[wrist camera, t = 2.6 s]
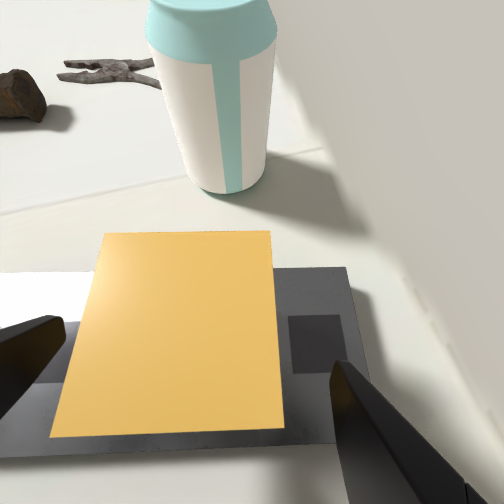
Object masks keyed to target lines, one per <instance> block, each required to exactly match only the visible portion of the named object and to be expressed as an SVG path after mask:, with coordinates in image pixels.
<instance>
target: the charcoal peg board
mask: <svg viewBox="0 0 504 504" xmlns="http://www.w3.org/2000/svg"><path fill="white" fill-rule="evenodd" d="M93 274H94V272H69V273H19V274H0V329H2V328H5V327H9V326H12V325H15V324H18V323H22V322H25V321H28V320H31V319H34V318H38V317H41V316H44V315H57V316H61V317H62V318H63V320H64V325H65V331H66V341H65V343H64V344H63V346H62V347H61V348H60V350H59V351H58V352H57V354H56V355H55V356H54V357H53V359H52V360H51V361H50V362H49V364H48V365H47V366H46V368H45V369H44V370H43V371H42V373H41V374H40V375H39V377H38V378H37V379H36V380H35V382H34V383H33V384H32V385H31V387H30V388H29V389H28V390H27V391H26V392H25V393H24V395H23V396H22V397H21V398H20V399H19V400H18V401H17V402H16V403H15V405H14V406H13V407H12V408H11V409H10V410H9V411H8V412H7V413H6V414H5V415H4V417H3V418H2V419H1V420H0V458H6V457H29V456H52V455H75V454H98V453H121V452H144V451H167V450H190V449H213V448H236V447H259V446H282V445H305V444H328V443H336V438H335V431H334V422H333V414H332V406H331V397H330V389H329V380H330V376H331V373H332V369H333V366H334V363H335V361H336V360H345V361H349V362H351V363H352V364H353V365H354V366H355V367H356V368H357V369H358V370H359V371H360V372H361V373H362V375H363V376H364V377H365V378H366V379H367V380H368V381H369V382H370V378H369V374H368V369H367V364H366V360H365V355H364V350H363V346H362V341H361V336H360V331H359V327H358V322H357V317H356V313H355V308H354V303H353V299H352V294H351V289H350V285H349V280H348V275H347V271H346V267H315V268H273V278H274V292H275V305H276V319H277V333H278V347H279V361H280V375H281V388H282V402H283V416H284V428H271V429H247V430H223V431H199V432H174V433H150V434H126V435H102V436H77V437H53V438H49V437H50V433H51V430H52V426H53V422H54V418H55V415H56V411H57V407H58V404H59V400H60V396H61V393H62V389H63V385H64V382H65V378H66V374H67V370H68V367H69V363H70V359H71V356H72V352H73V348H74V345H75V341H76V337H77V334H78V330H79V326H80V322H81V319H82V315H83V311H84V308H85V304H86V300H87V297H88V293H89V289H90V285H91V282H92V278H93Z"/></svg>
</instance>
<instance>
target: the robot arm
mask: <svg viewBox="0 0 504 504" xmlns="http://www.w3.org/2000/svg"><path fill="white" fill-rule="evenodd" d="M65 341H66V331H65V325H64V320H63V318H62V317H61V316H57V315H44V316H41V317H38V318H34V319H31V320H28V321H25V322H22V323H18V324H15V325H12V326H9V327H5V328H2V329H0V420H1V419H2V418H3V417H4V415H5V414H6V413H7V412H8V411H9V410H10V409H11V408H12V407H13V406H14V405H15V403H16V402H17V401H18V400H19V399H20V398H21V397H22V396H23V395H24V393H25V392H26V391H27V390H28V389H29V388H30V387H31V385H32V384H33V383H34V382H35V380H36V379H37V378H38V377H39V375H40V374H41V373H42V371H43V370H44V369H45V368H46V366H47V365H48V364H49V362H50V361H51V360H52V359H53V357H54V356H55V355H56V354H57V352H58V351H59V350H60V348H61V347H62V346H63V344H64V343H65ZM329 389H330V397H331V406H332V414H333V422H334V431H335V438H336V444H337V449H338V454H339V458H340V463H341V468H342V472H343V477H344V481H345V486H346V490H347V495H348V500H349V504H488V503H487V502H486V501H485V500H484V499H483V498H482V497H481V496H480V495H479V494H478V493H477V492H476V491H475V490H474V489H473V488H472V487H471V486H470V485H469V484H468V483H465V481H464V479H463V478H462V477H461V475H460V474H459V473H458V472H457V471H456V470H455V469H454V468H453V467H452V466H451V465H450V464H449V463H448V462H447V461H446V460H445V459H444V458H443V457H442V456H441V455H440V454H439V453H438V452H437V451H436V450H435V449H434V448H433V447H432V446H431V445H430V444H429V443H428V441H427V440H426V439H425V438H424V437H423V436H422V435H421V434H420V433H419V432H418V431H417V430H416V429H415V428H414V427H413V426H412V425H411V424H410V423H409V422H408V421H407V420H406V419H405V418H404V417H403V416H402V415H401V414H400V413H399V412H398V411H397V410H396V409H395V407H394V406H393V405H392V404H391V403H390V402H389V401H388V400H387V399H386V398H385V397H384V396H383V395H382V394H381V393H380V392H379V391H378V390H377V389H376V388H375V387H374V386H373V385H372V384H371V383H370V382H369V381H368V380H367V379H366V378H365V377H364V376H363V375H362V373H361V372H360V371H359V370H358V369H357V368H356V367H355V366H354V365H353V364H352V363H351V362H349V361H345V360H336V361H335V363H334V366H333V369H332V373H331V376H330V380H329Z"/></svg>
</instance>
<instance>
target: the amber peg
mask: <svg viewBox="0 0 504 504" xmlns="http://www.w3.org/2000/svg"><path fill="white" fill-rule="evenodd" d="M271 428H284V416H283V402H282V388H281V375H280V361H279V347H278V333H277V319H276V305H275V292H274V278H273V264H272V250H271V236H270V231H204V232H138V233H105V234H104V237H103V241H102V245H101V249H100V252H99V256H98V260H97V263H96V267H95V271H94V274H93V278H92V282H91V285H90V289H89V293H88V297H87V300H86V304H85V308H84V311H83V315H82V319H81V322H80V326H79V330H78V334H77V337H76V341H75V345H74V348H73V352H72V356H71V359H70V363H69V367H68V370H67V374H66V378H65V382H64V385H63V389H62V393H61V396H60V400H59V404H58V407H57V411H56V415H55V418H54V422H53V426H52V430H51V433H50V437H49V438H53V437H77V436H102V435H126V434H150V433H174V432H199V431H223V430H247V429H271Z"/></svg>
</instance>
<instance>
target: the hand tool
mask: <svg viewBox="0 0 504 504" xmlns="http://www.w3.org/2000/svg"><path fill="white" fill-rule="evenodd" d="M46 105H47V104H46V101H45V98H44V96H43V94H42V92H41V91H40V89H39V88H38V86H37V84H36V83H35V81H34V79H33V78H32V77H31V75H30V74H29V73H28V72H27V71H24V70H19V69H12V70H11V71H10V72H8V73H2V74H0V117H3V118H6V117H11V118H15V117H18V116H28V117H29V118H30V119H32V120H34V121H36V122H38V123H40V122H41V121H42V119H43V117H44V115H45V113H46Z"/></svg>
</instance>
